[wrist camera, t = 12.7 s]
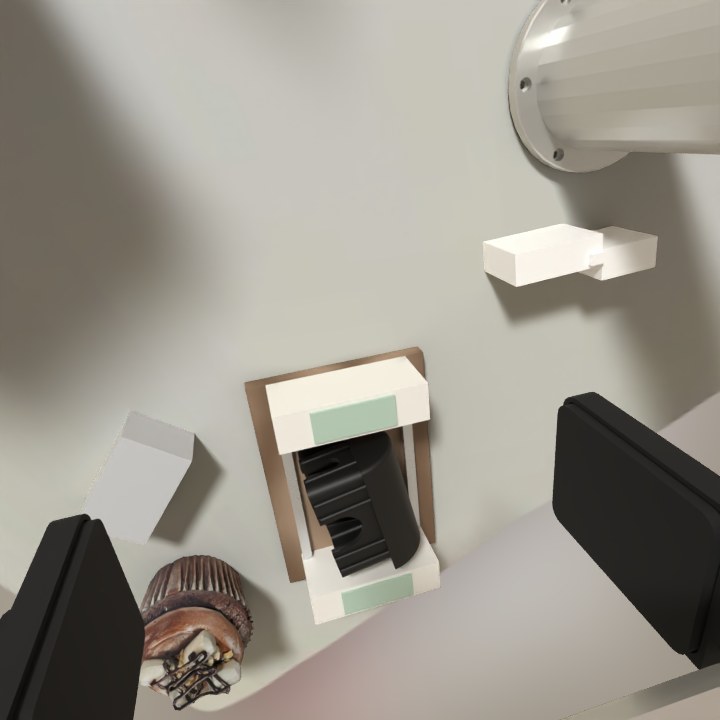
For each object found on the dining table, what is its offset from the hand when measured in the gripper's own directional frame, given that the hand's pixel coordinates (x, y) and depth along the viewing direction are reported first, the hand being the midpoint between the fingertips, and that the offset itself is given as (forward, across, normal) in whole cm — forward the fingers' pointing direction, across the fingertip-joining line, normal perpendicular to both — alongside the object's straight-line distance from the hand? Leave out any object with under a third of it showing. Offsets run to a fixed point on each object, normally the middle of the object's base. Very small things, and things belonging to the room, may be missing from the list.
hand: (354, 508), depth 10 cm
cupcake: (+29, +11, +29) cm, 42 cm away
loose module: (+29, +12, +15) cm, 34 cm away
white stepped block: (+29, -23, +4) cm, 37 cm away
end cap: (+27, -4, +20) cm, 34 cm away
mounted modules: (+27, -4, +20) cm, 34 cm away
